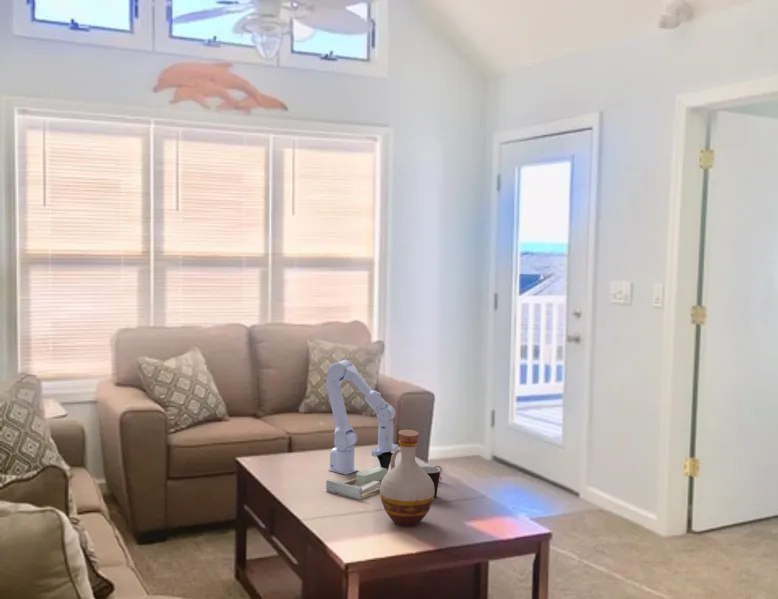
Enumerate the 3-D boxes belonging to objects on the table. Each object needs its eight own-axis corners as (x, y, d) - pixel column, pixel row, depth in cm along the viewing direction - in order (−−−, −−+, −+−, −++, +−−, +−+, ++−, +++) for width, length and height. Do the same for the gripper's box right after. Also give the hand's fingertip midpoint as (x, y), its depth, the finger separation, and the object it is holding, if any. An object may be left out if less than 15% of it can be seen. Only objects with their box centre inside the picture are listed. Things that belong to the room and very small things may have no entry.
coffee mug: (444, 497, 292) (445, 469, 291) (429, 502, 286) (429, 474, 285) (420, 489, 300) (420, 463, 299) (404, 494, 294) (405, 467, 293)
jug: (366, 516, 269) (369, 427, 267) (412, 509, 278) (415, 422, 276) (396, 535, 252) (398, 440, 250) (444, 527, 260) (447, 435, 259)
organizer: (326, 491, 295) (326, 480, 295) (355, 481, 309) (355, 471, 308) (359, 499, 286) (359, 488, 286) (387, 489, 299) (387, 478, 299)
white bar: (354, 496, 291) (355, 489, 291) (374, 486, 303) (374, 480, 303) (360, 497, 290) (360, 491, 290) (379, 488, 302) (380, 481, 302)
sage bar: (356, 484, 305) (356, 474, 305) (378, 476, 317) (379, 466, 316) (364, 486, 303) (364, 476, 303) (386, 478, 314) (387, 468, 314)
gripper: (382, 441, 307) (381, 477, 308) (404, 435, 319) (403, 469, 320) (367, 438, 311) (367, 473, 312) (390, 432, 323) (389, 466, 324)
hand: (384, 471), depth 316 cm, fingers closed
